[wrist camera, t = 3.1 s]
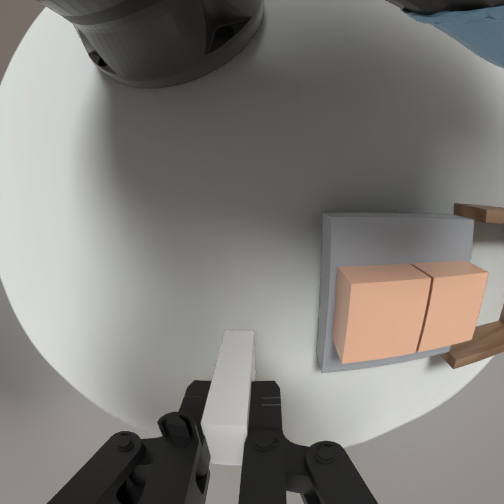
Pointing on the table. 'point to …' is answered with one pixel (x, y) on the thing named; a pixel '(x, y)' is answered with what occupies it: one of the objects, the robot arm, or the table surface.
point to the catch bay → (486, 336)
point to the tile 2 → (451, 303)
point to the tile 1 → (378, 311)
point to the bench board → (382, 261)
